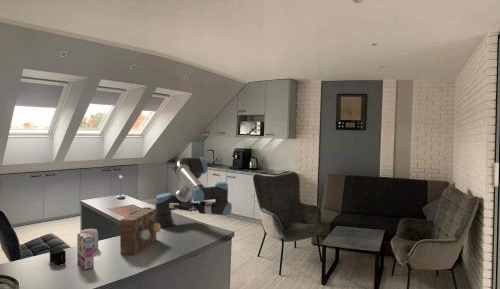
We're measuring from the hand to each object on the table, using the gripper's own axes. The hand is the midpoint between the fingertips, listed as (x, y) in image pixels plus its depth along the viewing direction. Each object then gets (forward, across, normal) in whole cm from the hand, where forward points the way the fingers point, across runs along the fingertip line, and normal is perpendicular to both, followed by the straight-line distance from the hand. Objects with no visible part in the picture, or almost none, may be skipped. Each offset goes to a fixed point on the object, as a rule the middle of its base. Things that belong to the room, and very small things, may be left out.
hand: (169, 205), depth 197 cm
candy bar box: (+29, -39, -25) cm, 54 cm away
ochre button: (+9, 0, -17) cm, 20 cm away
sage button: (+9, -14, -17) cm, 24 cm away
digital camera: (+47, -38, -25) cm, 65 cm away
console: (+16, -7, -24) cm, 30 cm away
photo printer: (+43, -18, -25) cm, 53 cm away
